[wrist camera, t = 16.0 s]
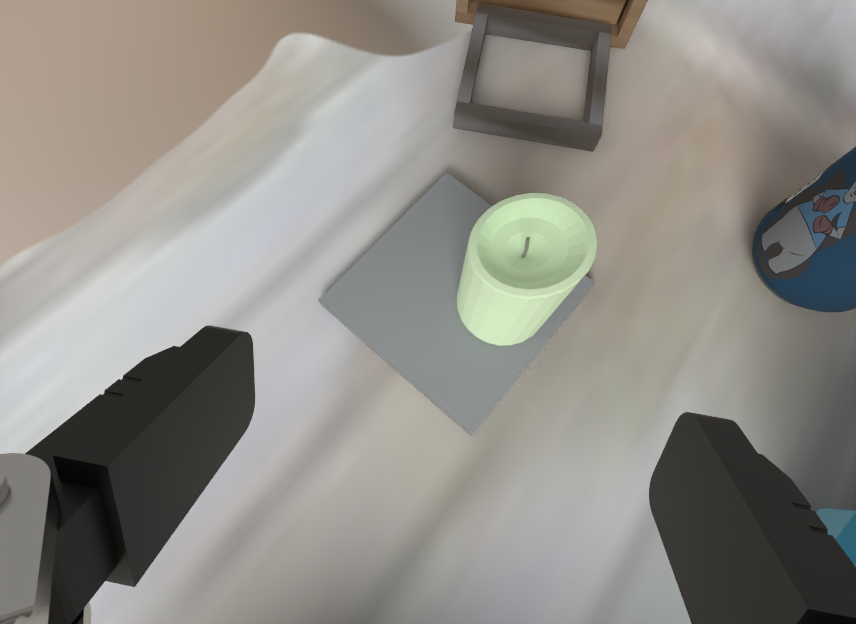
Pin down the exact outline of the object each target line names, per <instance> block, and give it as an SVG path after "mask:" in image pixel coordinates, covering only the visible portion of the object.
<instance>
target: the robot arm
mask: <svg viewBox="0 0 856 624" xmlns="http://www.w3.org/2000/svg"><path fill="white" fill-rule="evenodd" d="M254 406H255V383H254V358H253V341H252V338H251V335H250V334H249V333H248V332H243V331H237V330H232V329H226V328H221V327H215V326H205V327H204V328H202V329H201V330H200V331H199V332H197V333H196V334H195V335H194V336H193V337H192V338H190V339H189V340H188V341H187V342H186V343H184V344H183V345H182V346H181V347H176V346H173V347H171V348H168V349H166V350H164V351H161V352H159V353H157V354H154V355H152V356H150V357H147V358H145V359H144V360H142V361H141V362H140V363H139V364H137V365H136V366H135V367H134V368H132V369H131V370H130V371H129V372H127V373H126V374H125V375H124V376H123V379H122V380H120V379H119V380H117V381H116V382H115V383H114V384H112V385H111V386H110V387H108V388H107V389H106V390H105V393H104V394H103V395H98V396H97V397H96V398H95V399H93V400H92V401H91V402H90V403H88V404H87V405H86V406H85V407H83V408H82V409H81V410H80V411H78V412H77V413H76V414H74V415H73V416H72V417H71V418H69V419H68V420H67V421H66V422H64V423H63V424H62V425H61V426H59V427H58V428H57V429H56V430H54V431H53V432H52V433H51V434H49V435H48V436H47V437H46V438H44V439H43V440H42V441H40V442H39V443H38V444H37V445H35V446H34V447H33V448H32V449H30V450H29V451H28V452H27V453H25V454H18V453H9V454H0V624H91V606H90V603H89V601H90V600H91V598H92V597H93V596H94V595H95V593H96V592H97V591H98V589H99V588H100V587H101V586H102V584H103V583H104V582H105V581H109V582H114V583H118V584H123V585H128V586H132V587H135V586H136V584H137V583H138V582H139V580H140V579H141V577H142V576H143V575H144V573H145V572H146V570H147V569H148V568H149V566H150V565H151V563H152V562H153V561H154V559H155V558H156V556H157V555H158V554H159V552H160V551H161V549H162V548H163V547H164V545H165V544H166V542H167V541H168V540H169V538H170V537H171V535H172V534H173V533H174V531H175V530H176V528H177V527H178V526H179V524H180V523H181V521H182V520H183V519H184V517H185V516H186V514H187V513H188V512H189V510H190V509H191V507H192V506H193V505H194V503H195V502H196V500H197V499H198V497H199V496H200V495H201V493H202V492H203V490H204V489H205V488H206V486H207V485H208V483H209V482H210V481H211V479H212V478H213V476H214V475H215V474H216V472H217V471H218V469H219V468H220V467H221V465H222V464H223V462H224V461H225V460H226V458H227V457H228V455H229V454H230V453H231V451H232V450H233V448H234V447H235V446H236V444H237V443H238V441H239V440H240V439H241V437H242V436H243V434H244V433H245V431H246V430H247V428H248V426H249V424H250V421H251V419H252V415H253V411H254ZM649 500H650V507H651V511H652V514H653V517H654V519H655V522H656V525H657V528H658V531H659V533H660V536H661V539H662V542H663V545H664V547H665V550H666V553H667V556H668V559H669V561H670V564H671V567H672V570H673V573H674V575H675V578H676V581H677V584H678V586H679V589H680V592H681V595H682V598H683V600H684V603H685V606H686V609H687V612H688V614H689V617H690V620H691V623H692V624H856V567H855V565H854V564H853V563H852V561H851V560H850V558H849V557H848V556H847V554H846V553H845V552H844V550H843V549H842V548H841V546H840V545H839V544H838V542H837V541H836V539H835V538H834V537H833V535H828V532H827V531H828V529H827V527H826V526H825V524H824V523H823V522H822V520H821V519H820V518H819V516H818V515H817V514H816V512H814V511H811V509H810V508H811V505H810V504H809V503H808V501H807V500H806V499H805V497H804V496H803V495H802V493H801V492H800V491H799V489H798V488H797V486H796V485H795V484H794V482H793V481H792V480H791V479H790V478H789V477H788V476H787V475H786V474H784V473H783V472H782V471H781V470H780V469H779V468H777V467H776V466H775V465H774V464H773V463H772V462H770V461H769V460H768V459H767V458H766V457H765V456H763V455H762V454H758V453H757V452H756V450H755V449H754V448H753V446H752V445H751V443H750V442H749V440H748V439H747V437H746V436H745V435H744V433H743V432H742V430H741V429H740V427H739V426H738V425H737V424H736V423H735V422H734V421H732V420H729V419H723V418H718V417H712V416H707V415H701V414H695V413H690V412H686V413H683V414H682V415H681V416H680V417H679V418H678V420H677V421H676V423H675V426H674V428H673V430H672V432H671V434H670V437H669V439H668V441H667V443H666V446H665V448H664V450H663V452H662V454H661V457H660V459H659V461H658V463H657V466H656V468H655V470H654V472H653V475H652V478H651V482H650V488H649Z"/></svg>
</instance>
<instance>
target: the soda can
mask: <svg viewBox="0 0 856 624" xmlns="http://www.w3.org/2000/svg"><path fill="white" fill-rule="evenodd" d="M753 262H754V266H755V269H756V272H757V274H758V276H759V278H760V279H761V281H762V282H763V283H764V285H765V286H766V287H767V288H768V289H769V290H770V291H771V292H772V293H773V294H775V295H776V296H777V297H779V298H780V299H782V300H784V301H786V302H788V303H790V304H793V305H796V306H800V307H803V308H807V309H811V310H816V311H823V312H842V311H847V310H851V309H854V308H856V147H855V148H854V149H852V150H851V151H849V152H848V153H847V154H845V155H844V156H843V157H841V158H840V159H839V160H837V161H836V162H835V163H833V164H832V165H831V166H829V167H828V168H827V169H825V170H824V171H823V172H821V173H820V174H819V175H817V176H816V177H815V178H813V179H812V180H811V181H809V182H808V183H807V184H805V185H804V186H803V187H801V188H800V189H799V190H797V191H796V192H795V193H793V194H792V195H791V196H789V197H788V198H787V199H785V200H784V201H783V202H781V203H780V204H778V205H777V206H776V207H774V208H773V209H772V210H771V211H769V212H768V213H767V214H766V215H765V216H764V218H763V219H762V221H761V222H760V224H759V226H758V228H757V231H756V235H755V239H754V246H753Z"/></svg>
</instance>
